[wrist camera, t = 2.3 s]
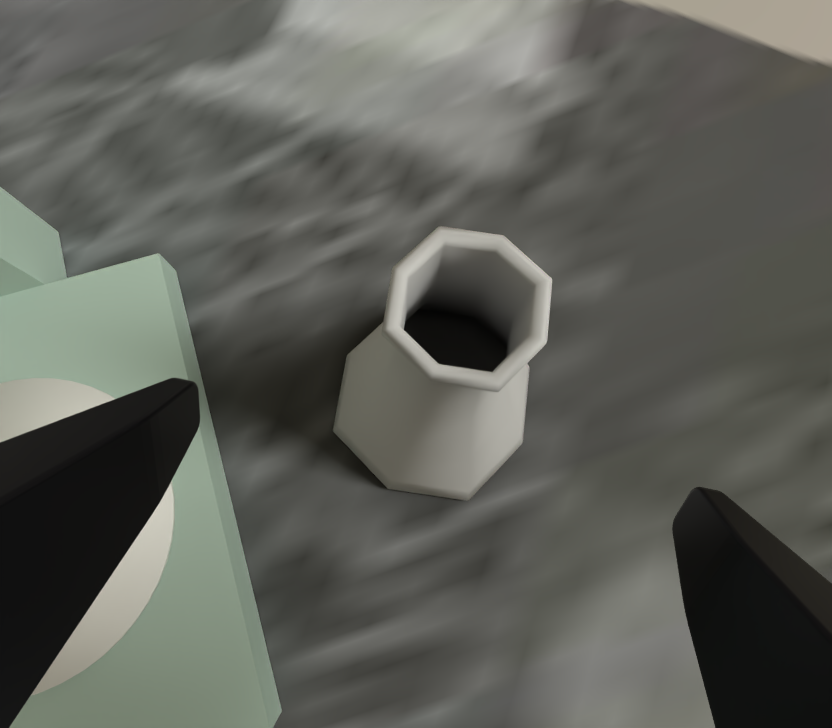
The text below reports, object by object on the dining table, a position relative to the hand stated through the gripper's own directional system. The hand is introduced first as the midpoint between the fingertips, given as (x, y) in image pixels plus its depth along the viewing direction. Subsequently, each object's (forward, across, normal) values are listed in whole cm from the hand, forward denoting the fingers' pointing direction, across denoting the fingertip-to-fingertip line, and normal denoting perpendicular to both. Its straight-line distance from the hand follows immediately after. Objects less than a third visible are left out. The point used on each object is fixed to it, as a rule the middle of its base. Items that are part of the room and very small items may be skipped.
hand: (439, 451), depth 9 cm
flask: (+9, 0, +5) cm, 10 cm away
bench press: (+7, +14, +7) cm, 17 cm away
